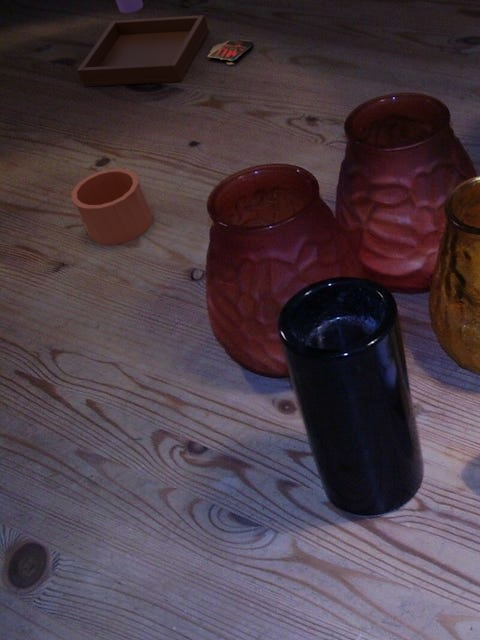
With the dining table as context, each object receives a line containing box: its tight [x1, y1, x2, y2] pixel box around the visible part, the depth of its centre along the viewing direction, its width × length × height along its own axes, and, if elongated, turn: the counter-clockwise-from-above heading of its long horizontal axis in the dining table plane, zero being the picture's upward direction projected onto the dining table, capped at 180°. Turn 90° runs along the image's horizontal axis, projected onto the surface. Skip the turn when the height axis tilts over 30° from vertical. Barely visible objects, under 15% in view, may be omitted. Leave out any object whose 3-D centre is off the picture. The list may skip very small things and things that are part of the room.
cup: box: [71, 167, 155, 246], centre depth 89 cm, size 6×6×4 cm
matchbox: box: [207, 38, 254, 66], centre depth 111 cm, size 5×5×1 cm
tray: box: [76, 14, 210, 88], centre depth 112 cm, size 11×11×2 cm
